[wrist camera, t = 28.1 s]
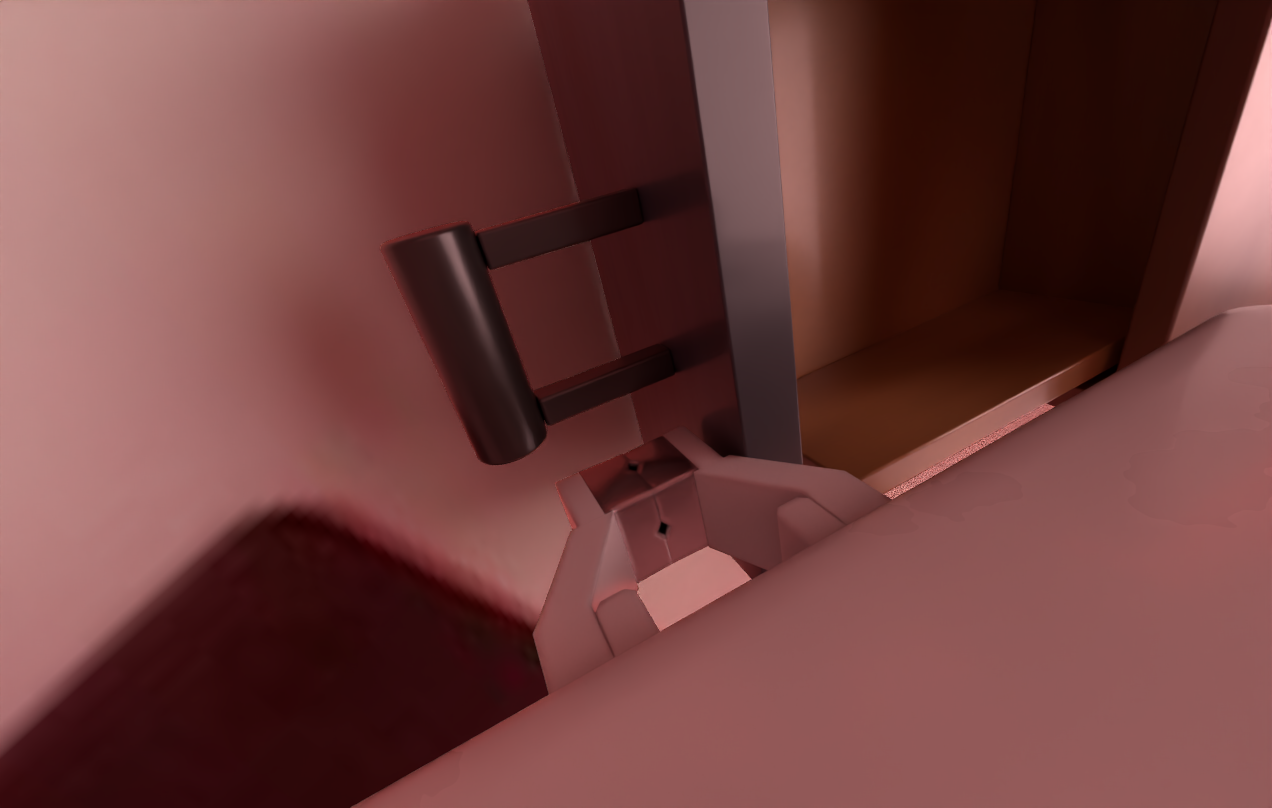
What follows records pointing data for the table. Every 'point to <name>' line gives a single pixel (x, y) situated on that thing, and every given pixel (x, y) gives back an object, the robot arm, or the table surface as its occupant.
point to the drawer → (829, 220)
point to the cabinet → (1212, 193)
